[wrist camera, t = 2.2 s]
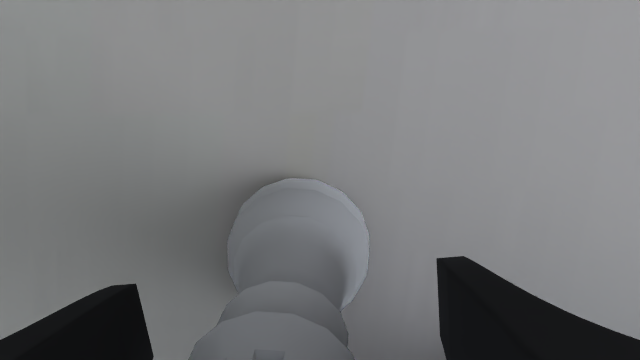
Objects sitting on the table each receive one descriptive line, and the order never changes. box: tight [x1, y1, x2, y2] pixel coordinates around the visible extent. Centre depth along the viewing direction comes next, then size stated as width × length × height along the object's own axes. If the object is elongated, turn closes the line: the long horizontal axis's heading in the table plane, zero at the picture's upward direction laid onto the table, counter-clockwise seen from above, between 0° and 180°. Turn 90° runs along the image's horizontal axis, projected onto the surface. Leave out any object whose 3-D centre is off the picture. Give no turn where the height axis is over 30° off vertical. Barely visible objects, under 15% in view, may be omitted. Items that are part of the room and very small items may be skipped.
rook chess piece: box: [188, 178, 370, 360], centre depth 11 cm, size 4×4×8 cm
